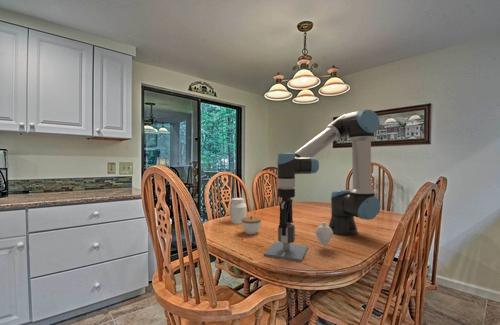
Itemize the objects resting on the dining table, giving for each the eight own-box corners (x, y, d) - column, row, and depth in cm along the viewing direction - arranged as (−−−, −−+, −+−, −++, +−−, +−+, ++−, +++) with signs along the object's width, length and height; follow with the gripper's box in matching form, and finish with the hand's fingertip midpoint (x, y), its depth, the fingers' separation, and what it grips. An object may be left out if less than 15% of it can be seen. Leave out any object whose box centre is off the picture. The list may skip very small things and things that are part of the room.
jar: (247, 223, 155) (247, 199, 155) (233, 224, 152) (232, 200, 152) (243, 218, 166) (242, 197, 166) (229, 220, 163) (229, 197, 163)
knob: (281, 237, 112) (280, 222, 111) (295, 238, 109) (295, 223, 109) (276, 241, 105) (276, 225, 105) (292, 243, 103) (292, 227, 103)
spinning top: (323, 252, 106) (323, 225, 106) (312, 246, 113) (312, 221, 113) (336, 249, 109) (336, 223, 109) (325, 244, 116) (325, 219, 116)
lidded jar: (265, 232, 136) (264, 215, 135) (252, 237, 128) (251, 219, 128) (250, 228, 143) (250, 212, 143) (237, 233, 135) (237, 216, 135)
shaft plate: (308, 247, 112) (307, 234, 111) (301, 261, 97) (301, 247, 97) (274, 243, 118) (274, 231, 118) (263, 256, 103) (263, 242, 103)
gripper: (283, 185, 117) (283, 232, 118) (271, 190, 99) (271, 246, 99) (299, 185, 114) (299, 234, 115) (289, 191, 96) (289, 248, 97)
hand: (286, 239), depth 107 cm, fingers closed on knob, 7 cm apart
